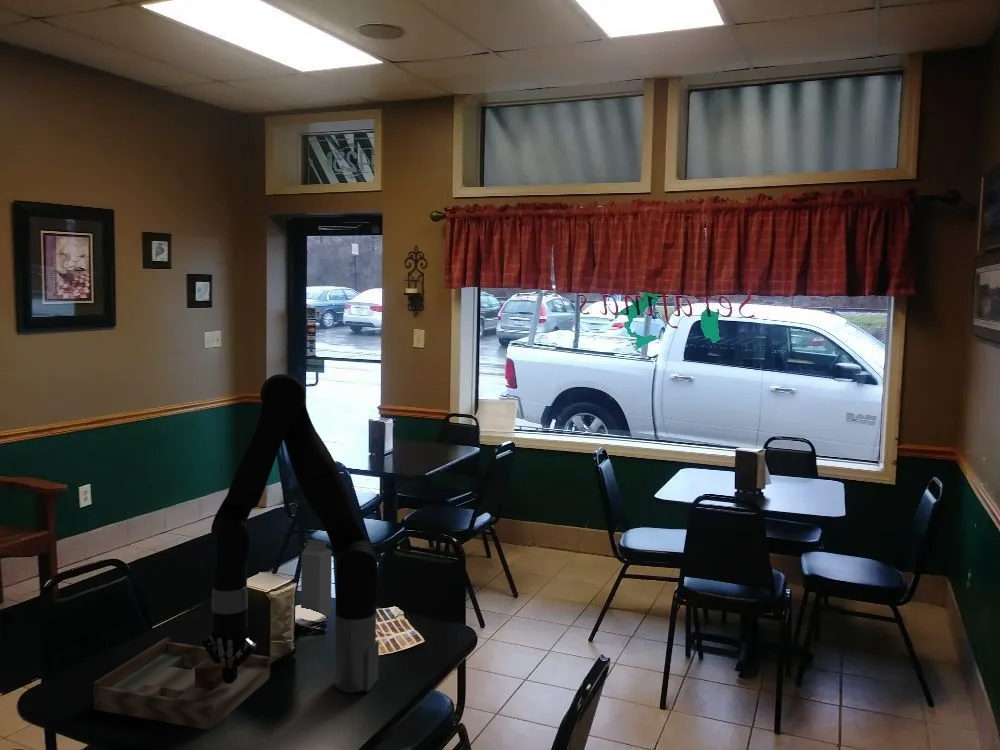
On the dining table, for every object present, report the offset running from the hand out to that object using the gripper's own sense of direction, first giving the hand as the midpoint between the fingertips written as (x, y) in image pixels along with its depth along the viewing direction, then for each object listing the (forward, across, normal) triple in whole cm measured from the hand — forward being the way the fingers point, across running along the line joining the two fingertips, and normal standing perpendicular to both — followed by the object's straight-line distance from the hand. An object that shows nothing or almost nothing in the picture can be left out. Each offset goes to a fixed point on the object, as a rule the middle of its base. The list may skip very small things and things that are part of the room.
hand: (229, 681), depth 176 cm
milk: (+4, +3, -47) cm, 47 cm away
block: (+1, +5, 0) cm, 5 cm away
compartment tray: (+4, +11, 0) cm, 12 cm away
